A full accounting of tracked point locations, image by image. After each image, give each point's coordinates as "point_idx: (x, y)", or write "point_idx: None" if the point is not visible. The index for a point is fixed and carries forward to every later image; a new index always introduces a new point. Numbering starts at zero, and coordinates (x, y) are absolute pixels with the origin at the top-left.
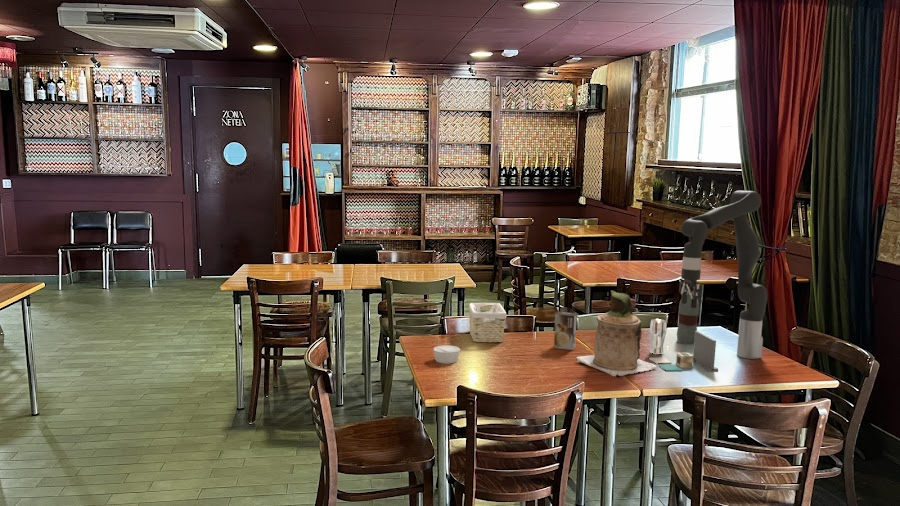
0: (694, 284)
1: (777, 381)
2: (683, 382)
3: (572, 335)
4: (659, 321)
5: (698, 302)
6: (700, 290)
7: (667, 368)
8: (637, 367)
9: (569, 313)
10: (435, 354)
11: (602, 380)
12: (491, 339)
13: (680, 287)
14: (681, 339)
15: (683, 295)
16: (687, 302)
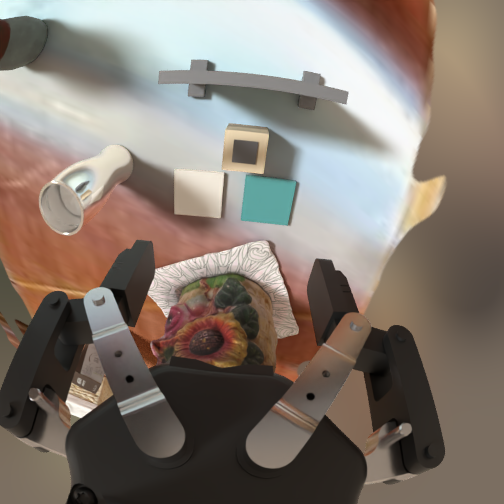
0: (390, 480)
1: (423, 4)
2: (370, 229)
3: None
4: (45, 191)
5: None
6: (432, 398)
7: (277, 215)
8: (253, 277)
9: (81, 379)
10: None
11: (303, 347)
12: (109, 386)
13: (69, 372)
14: (31, 59)
15: (132, 317)
16: None
